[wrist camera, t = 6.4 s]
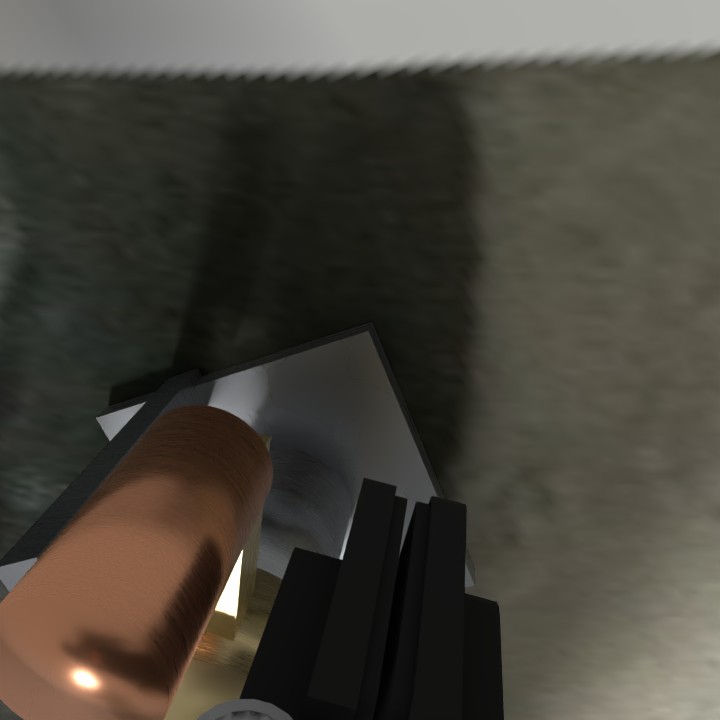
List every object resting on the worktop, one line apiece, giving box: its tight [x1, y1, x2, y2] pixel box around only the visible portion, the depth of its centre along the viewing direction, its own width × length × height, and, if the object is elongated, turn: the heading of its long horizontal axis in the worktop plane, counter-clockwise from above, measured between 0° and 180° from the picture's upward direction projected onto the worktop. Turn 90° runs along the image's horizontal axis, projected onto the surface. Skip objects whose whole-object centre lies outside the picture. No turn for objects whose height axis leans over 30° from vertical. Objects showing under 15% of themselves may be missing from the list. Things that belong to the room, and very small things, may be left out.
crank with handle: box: [0, 405, 282, 720], centre depth 13 cm, size 12×7×7 cm, turn 172°
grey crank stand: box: [0, 321, 475, 592], centre depth 20 cm, size 10×10×9 cm
